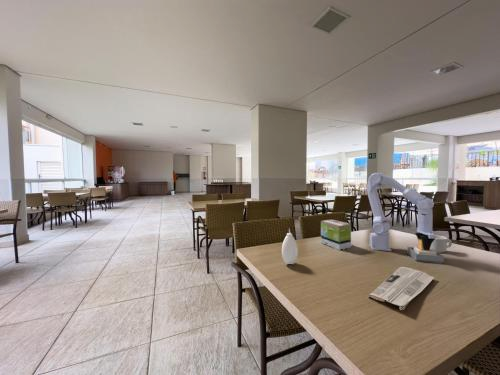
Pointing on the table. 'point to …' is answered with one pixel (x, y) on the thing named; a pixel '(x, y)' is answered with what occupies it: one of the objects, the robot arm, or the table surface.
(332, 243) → the tea box
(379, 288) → the newspaper
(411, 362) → the table surface
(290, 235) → the sauce bottle
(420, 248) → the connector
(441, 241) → the cup
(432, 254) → the walled box
